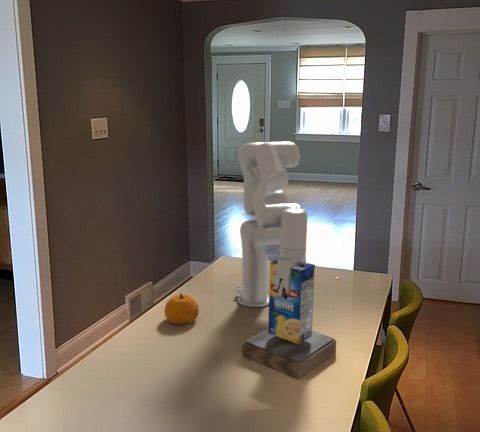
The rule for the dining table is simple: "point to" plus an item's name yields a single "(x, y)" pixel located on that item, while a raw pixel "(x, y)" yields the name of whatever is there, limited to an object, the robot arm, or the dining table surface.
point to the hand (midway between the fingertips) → (290, 311)
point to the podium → (289, 352)
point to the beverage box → (292, 305)
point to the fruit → (181, 309)
